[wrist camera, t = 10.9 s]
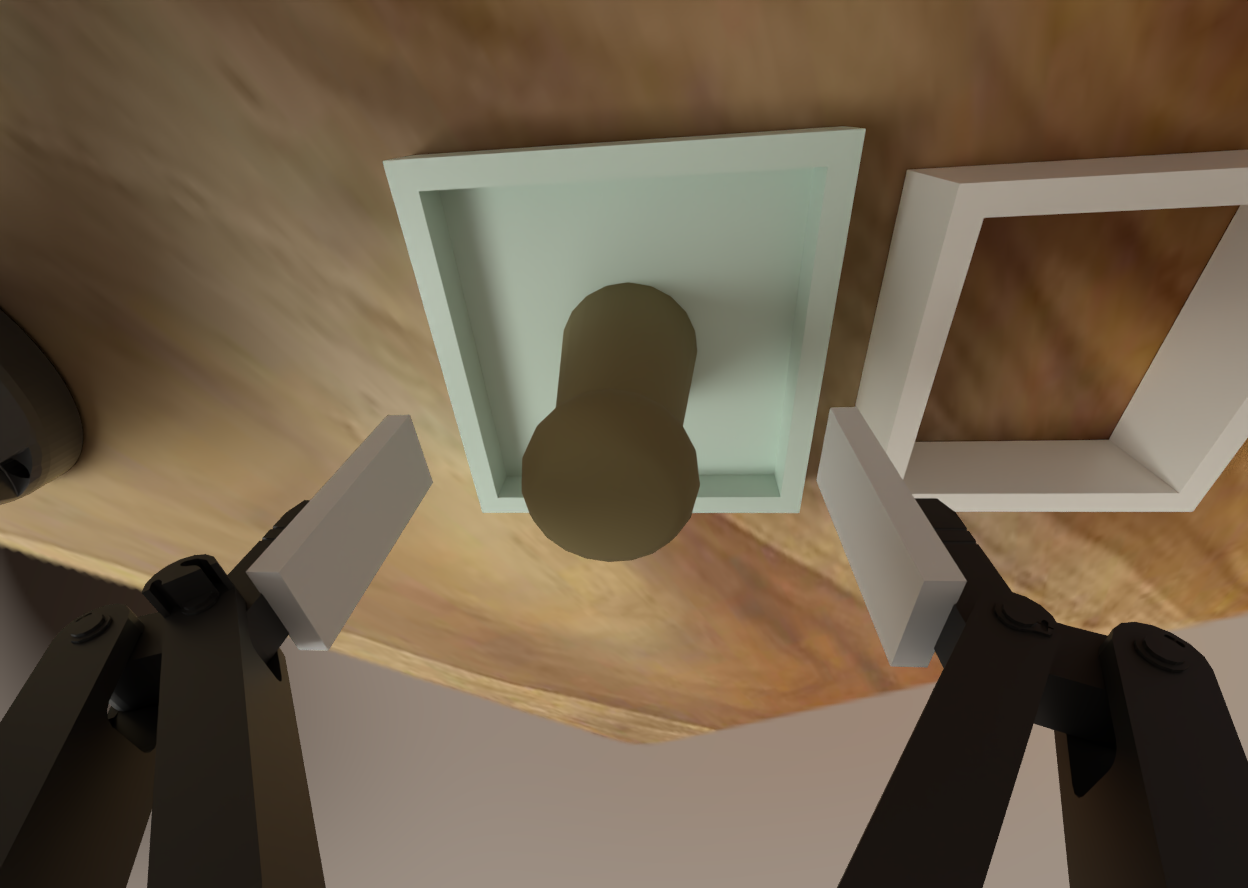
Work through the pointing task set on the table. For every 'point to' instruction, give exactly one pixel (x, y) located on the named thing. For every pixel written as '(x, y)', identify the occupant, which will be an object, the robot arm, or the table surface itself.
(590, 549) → the cork
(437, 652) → the table surface
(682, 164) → the tray
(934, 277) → the frame
